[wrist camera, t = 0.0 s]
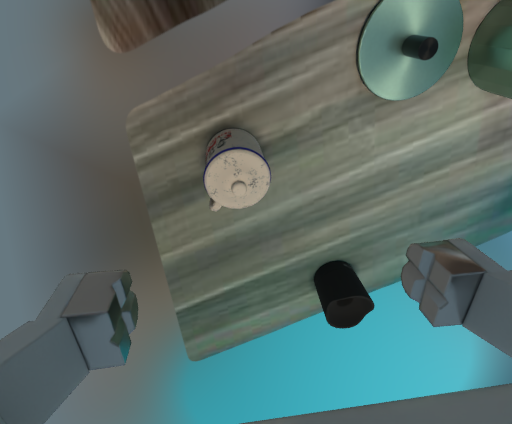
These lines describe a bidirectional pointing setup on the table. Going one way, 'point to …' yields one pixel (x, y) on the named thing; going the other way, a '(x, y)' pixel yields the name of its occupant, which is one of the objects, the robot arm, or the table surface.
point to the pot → (493, 52)
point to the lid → (408, 46)
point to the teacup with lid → (235, 170)
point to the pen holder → (342, 295)
